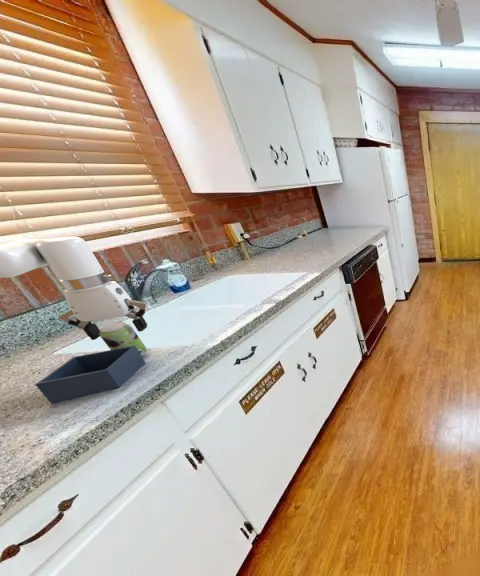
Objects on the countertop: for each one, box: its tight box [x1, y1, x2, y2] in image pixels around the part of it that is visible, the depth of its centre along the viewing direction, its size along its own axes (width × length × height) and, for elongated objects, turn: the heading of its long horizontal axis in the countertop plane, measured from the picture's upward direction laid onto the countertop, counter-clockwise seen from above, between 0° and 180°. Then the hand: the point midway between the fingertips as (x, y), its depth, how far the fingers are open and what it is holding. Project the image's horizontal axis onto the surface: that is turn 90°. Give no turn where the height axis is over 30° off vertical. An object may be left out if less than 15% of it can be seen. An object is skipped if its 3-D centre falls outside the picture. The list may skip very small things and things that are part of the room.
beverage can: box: [99, 321, 148, 357], centre depth 90 cm, size 6×7×12 cm
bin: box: [34, 346, 147, 405], centre depth 81 cm, size 12×12×7 cm
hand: (120, 333), depth 89 cm, fingers open, 9 cm apart
